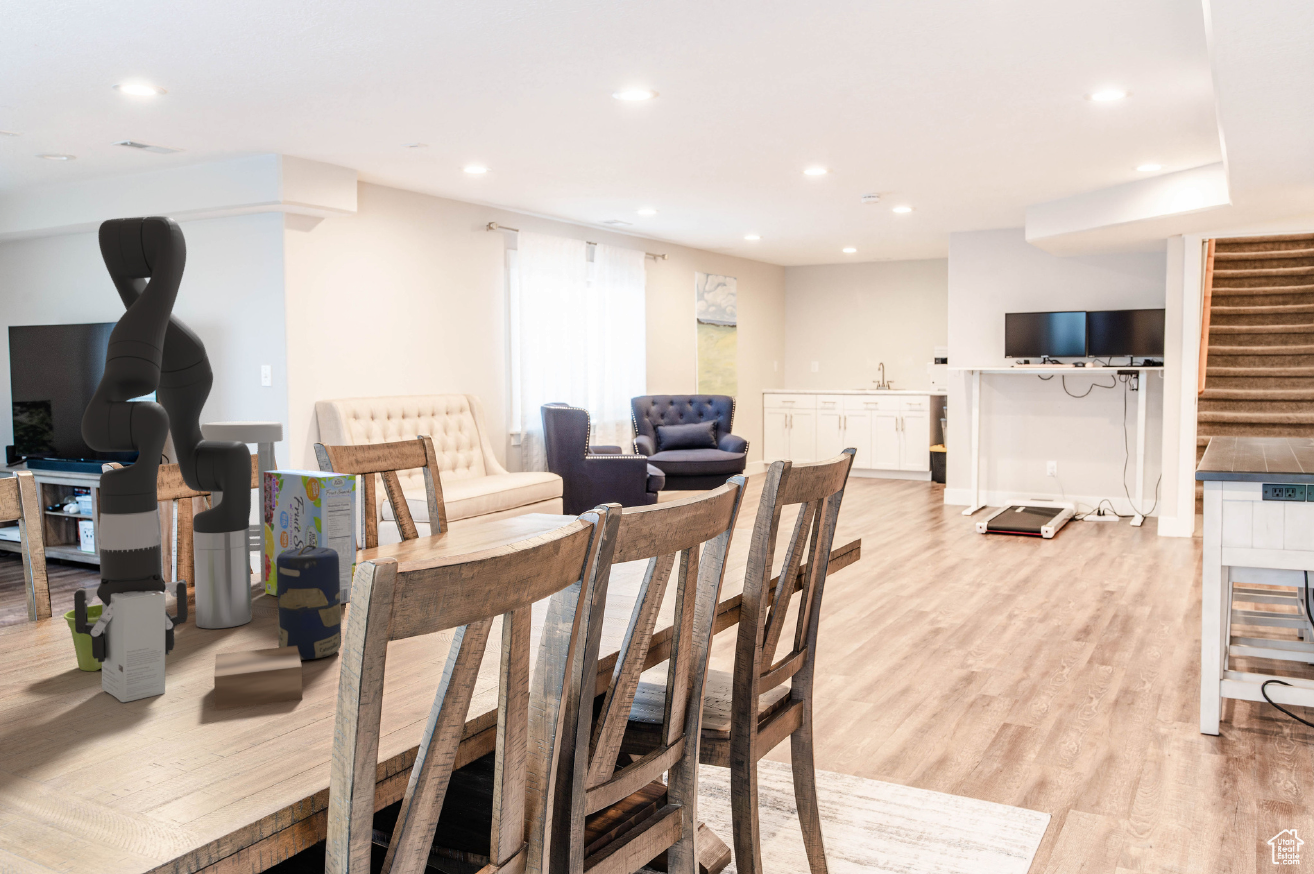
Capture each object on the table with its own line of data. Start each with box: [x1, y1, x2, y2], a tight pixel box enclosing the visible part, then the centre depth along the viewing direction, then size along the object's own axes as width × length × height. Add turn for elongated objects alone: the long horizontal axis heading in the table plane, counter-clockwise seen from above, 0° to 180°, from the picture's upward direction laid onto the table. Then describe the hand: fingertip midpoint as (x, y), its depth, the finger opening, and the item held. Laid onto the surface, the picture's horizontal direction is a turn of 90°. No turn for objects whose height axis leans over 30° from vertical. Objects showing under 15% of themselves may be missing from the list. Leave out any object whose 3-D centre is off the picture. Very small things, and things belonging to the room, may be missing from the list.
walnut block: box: [213, 646, 303, 712], centre depth 132 cm, size 11×11×5 cm
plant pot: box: [63, 604, 102, 672], centre depth 144 cm, size 9×9×9 cm
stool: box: [200, 420, 284, 590], centre depth 199 cm, size 16×16×35 cm
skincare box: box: [101, 591, 167, 703], centre depth 131 cm, size 8×6×15 cm
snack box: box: [264, 468, 357, 605], centre depth 188 cm, size 22×9×26 cm, turn 52°
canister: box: [277, 545, 342, 661], centre depth 149 cm, size 10×10×18 cm
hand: (134, 657), depth 132 cm, fingers closed on skincare box, 7 cm apart
